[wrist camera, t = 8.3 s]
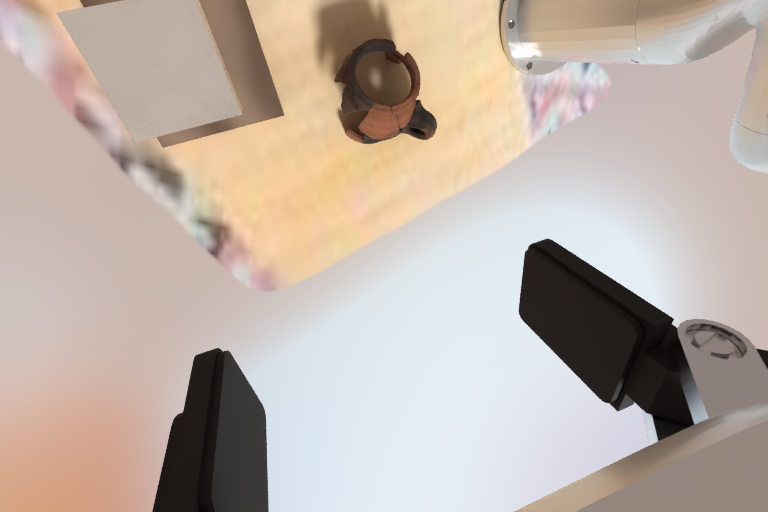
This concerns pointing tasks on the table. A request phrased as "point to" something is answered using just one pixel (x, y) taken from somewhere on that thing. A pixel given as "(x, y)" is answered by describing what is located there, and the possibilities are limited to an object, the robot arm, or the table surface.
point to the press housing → (232, 68)
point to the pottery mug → (380, 117)
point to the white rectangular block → (155, 64)
